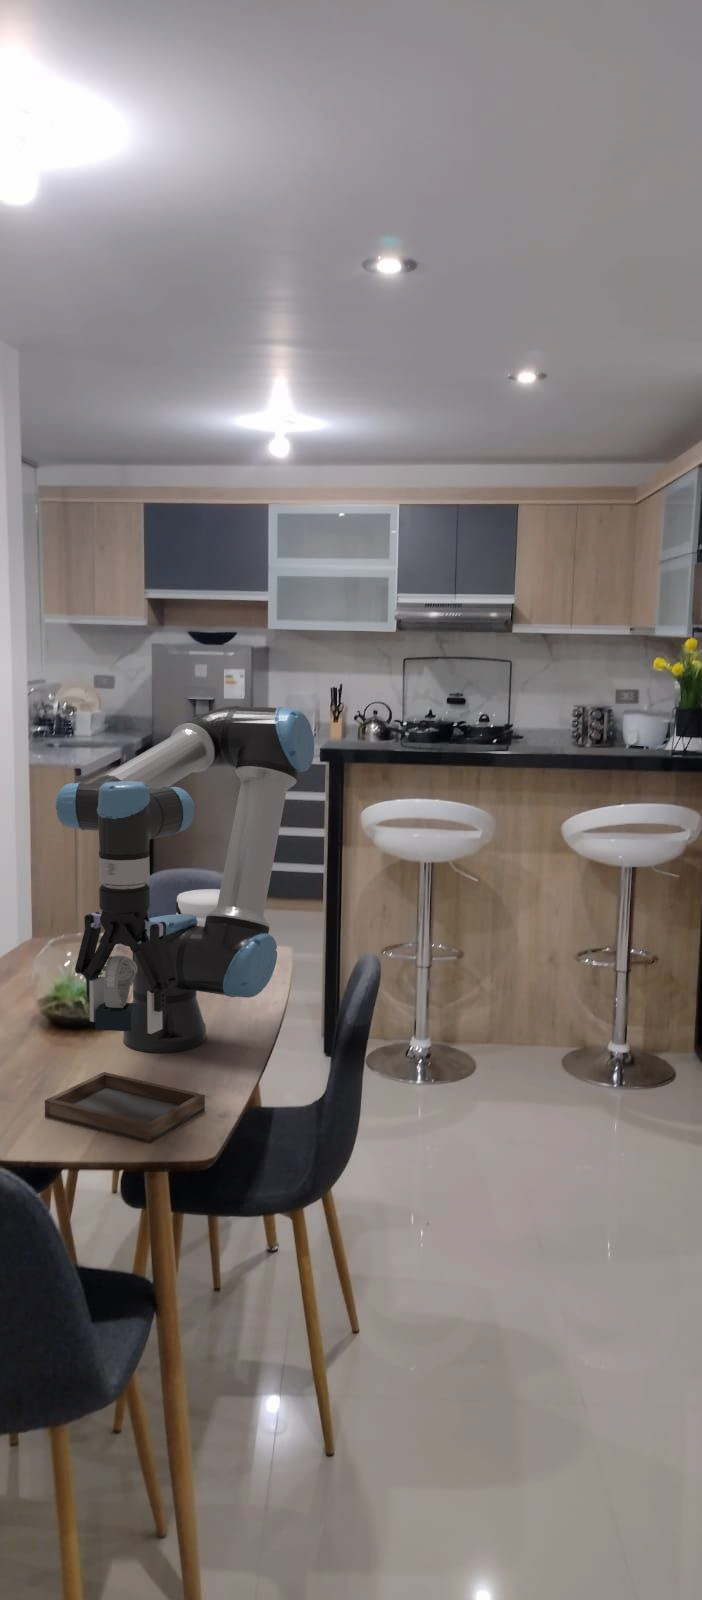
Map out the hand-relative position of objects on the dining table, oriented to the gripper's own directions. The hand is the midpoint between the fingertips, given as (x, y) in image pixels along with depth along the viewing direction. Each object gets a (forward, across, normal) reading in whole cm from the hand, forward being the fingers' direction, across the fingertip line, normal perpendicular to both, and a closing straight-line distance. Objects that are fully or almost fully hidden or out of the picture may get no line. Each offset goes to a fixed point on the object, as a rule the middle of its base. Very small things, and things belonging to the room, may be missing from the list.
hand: (125, 1025), depth 173 cm
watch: (+1, -2, +1) cm, 3 cm away
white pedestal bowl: (+15, -34, +72) cm, 81 cm away
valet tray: (+14, 0, 0) cm, 14 cm away
